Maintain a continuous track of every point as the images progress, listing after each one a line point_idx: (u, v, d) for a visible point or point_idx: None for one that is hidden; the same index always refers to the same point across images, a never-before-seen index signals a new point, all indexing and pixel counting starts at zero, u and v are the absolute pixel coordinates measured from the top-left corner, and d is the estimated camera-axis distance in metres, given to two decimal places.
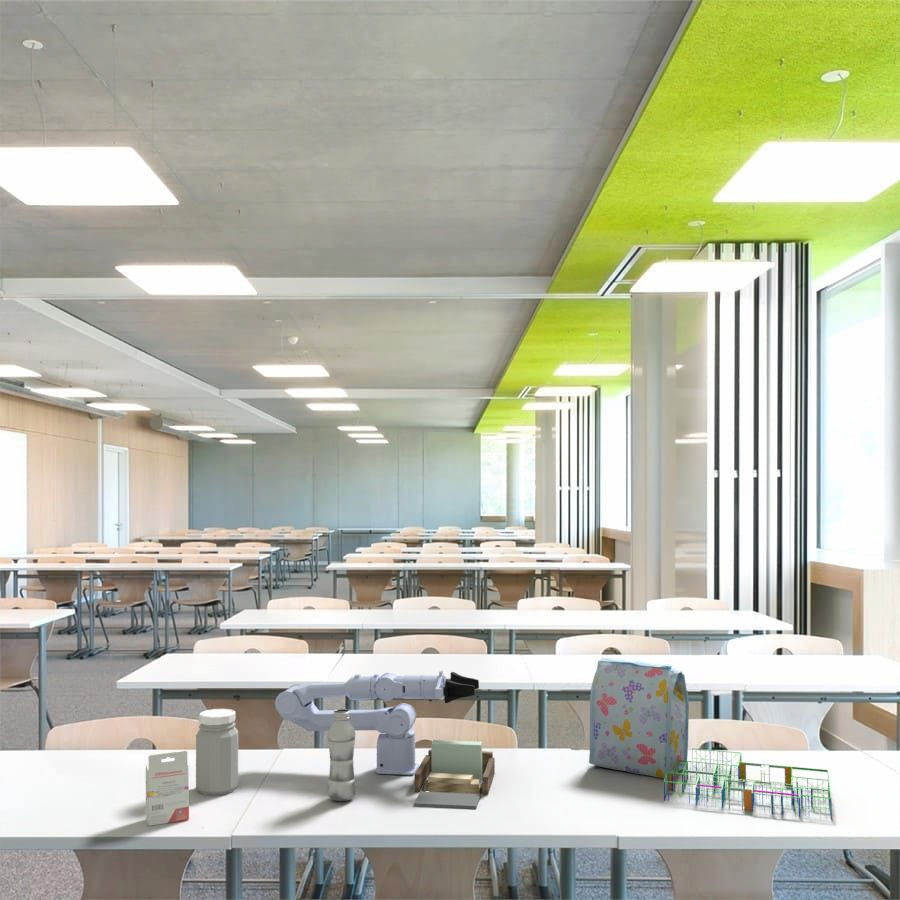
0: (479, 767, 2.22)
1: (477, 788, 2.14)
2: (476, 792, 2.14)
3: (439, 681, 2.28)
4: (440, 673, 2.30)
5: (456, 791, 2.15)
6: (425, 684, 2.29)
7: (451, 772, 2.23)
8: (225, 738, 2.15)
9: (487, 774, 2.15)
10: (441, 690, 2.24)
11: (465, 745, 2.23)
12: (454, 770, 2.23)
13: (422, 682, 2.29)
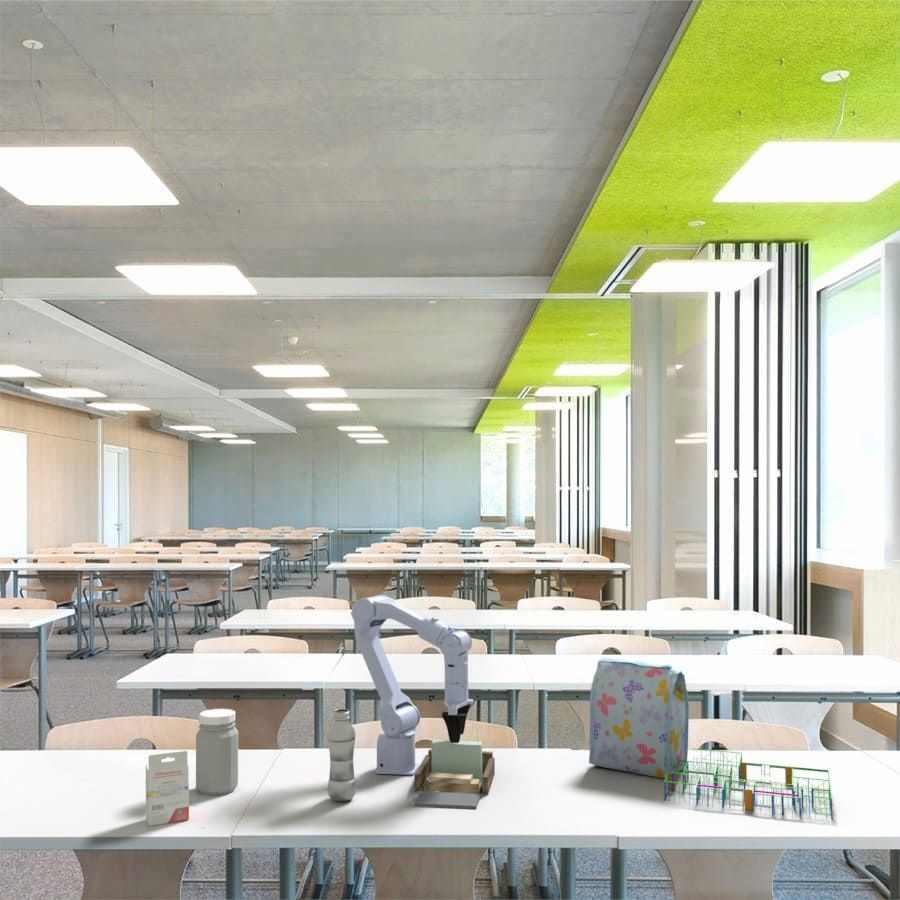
0: (479, 767, 2.22)
1: (477, 788, 2.15)
2: (476, 792, 2.14)
3: (463, 705, 2.21)
4: (470, 702, 2.23)
5: (456, 791, 2.15)
6: (459, 688, 2.22)
7: (451, 772, 2.23)
8: (225, 738, 2.15)
9: (487, 774, 2.15)
10: (455, 713, 2.18)
11: (465, 745, 2.23)
12: (454, 770, 2.23)
13: (461, 685, 2.22)
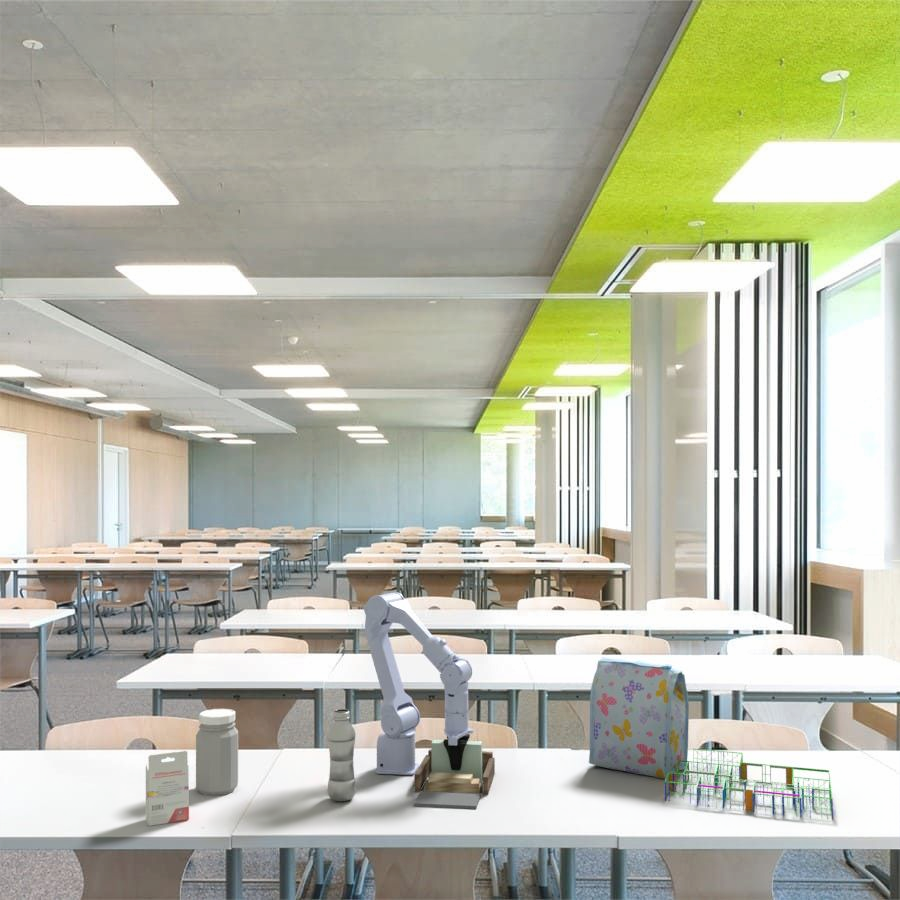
0: (479, 767, 2.22)
1: (477, 787, 2.15)
2: (476, 791, 2.14)
3: (463, 734, 2.21)
4: (470, 732, 2.23)
5: (456, 790, 2.15)
6: (459, 718, 2.22)
7: (451, 772, 2.23)
8: (225, 738, 2.15)
9: (487, 774, 2.15)
10: (455, 744, 2.17)
11: None
12: None
13: (461, 715, 2.22)
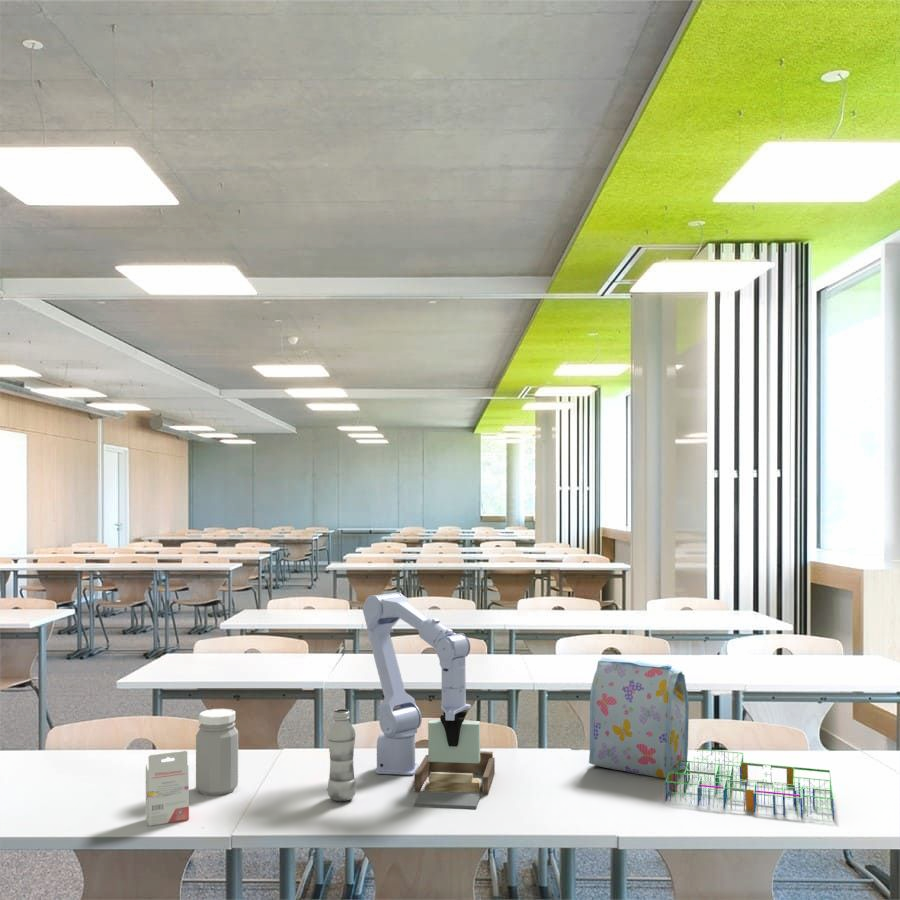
0: (477, 747, 2.17)
1: (478, 787, 2.15)
2: (477, 791, 2.15)
3: (460, 710, 2.16)
4: (468, 707, 2.18)
5: (457, 790, 2.15)
6: (457, 693, 2.17)
7: (448, 752, 2.18)
8: (225, 738, 2.15)
9: (487, 774, 2.15)
10: (452, 719, 2.12)
11: (463, 725, 2.18)
12: (451, 750, 2.18)
13: (459, 690, 2.17)
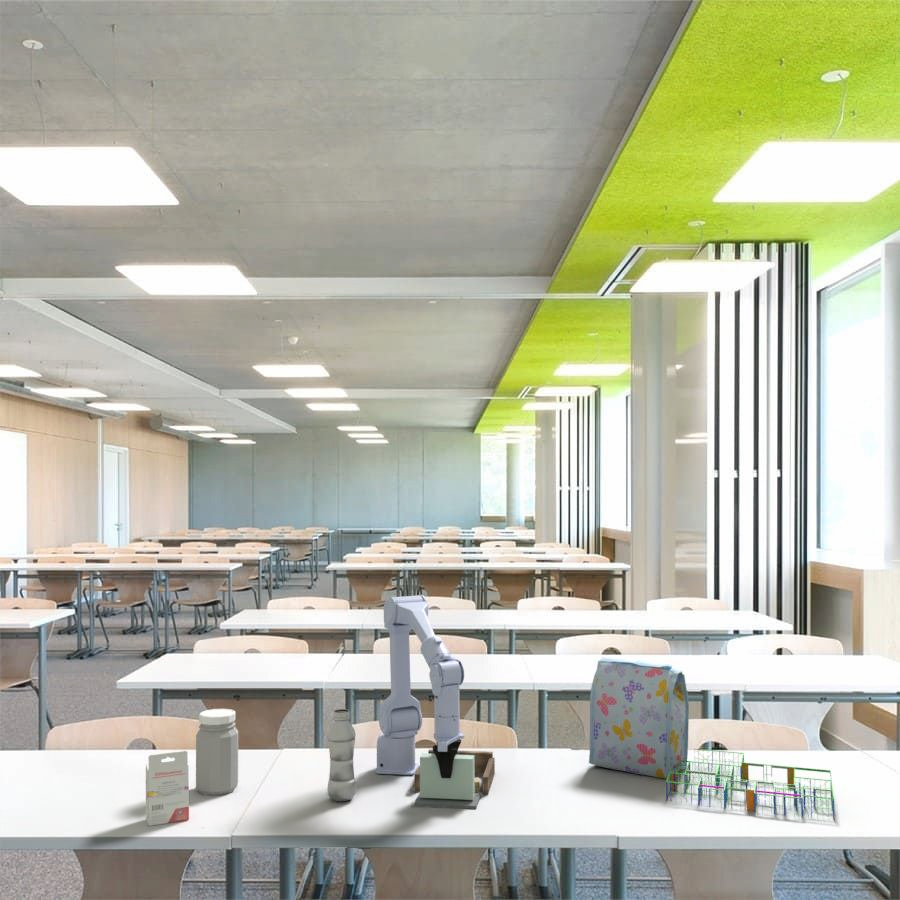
0: (471, 783, 2.07)
1: (478, 786, 2.16)
2: (477, 790, 2.15)
3: (454, 740, 2.06)
4: (462, 737, 2.08)
5: None
6: (450, 722, 2.07)
7: (441, 788, 2.08)
8: (225, 738, 2.15)
9: (487, 774, 2.15)
10: (445, 750, 2.02)
11: (456, 759, 2.07)
12: (444, 785, 2.08)
13: (452, 719, 2.07)
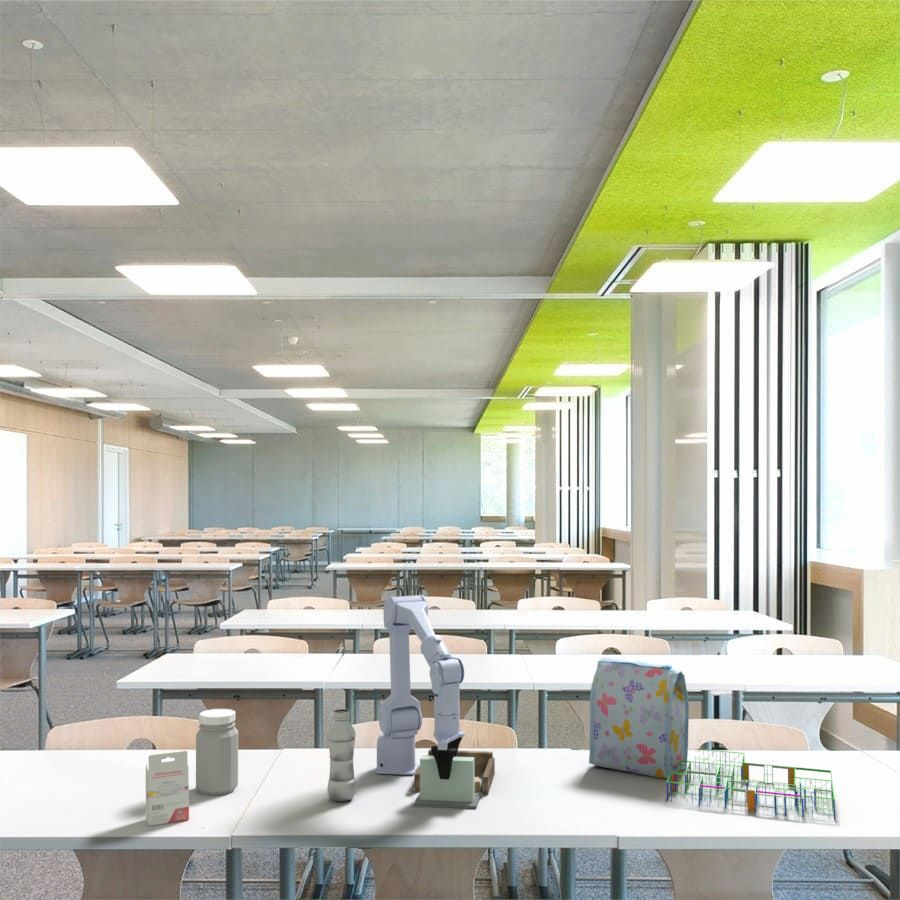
0: (471, 785, 2.07)
1: (478, 786, 2.16)
2: (477, 790, 2.16)
3: (453, 738, 2.06)
4: (462, 735, 2.08)
5: None
6: (450, 721, 2.07)
7: (441, 790, 2.08)
8: (225, 738, 2.14)
9: (487, 774, 2.15)
10: (445, 748, 2.02)
11: (456, 761, 2.07)
12: (444, 787, 2.08)
13: (452, 717, 2.07)
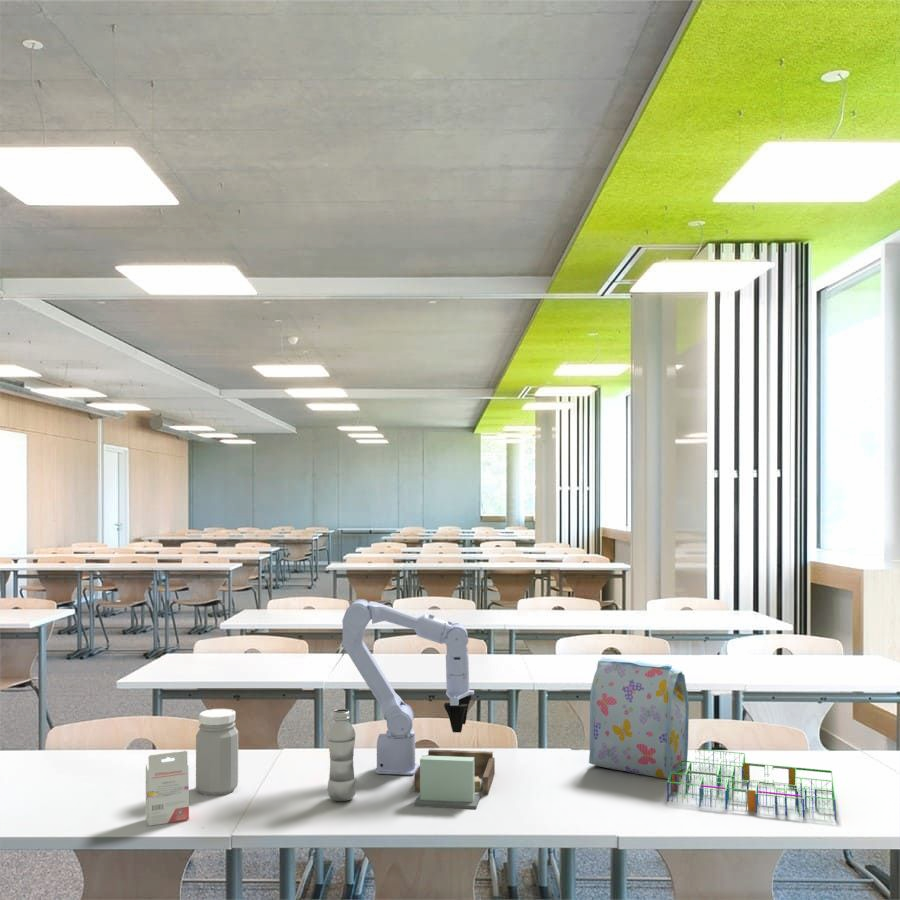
0: (471, 785, 2.07)
1: (478, 785, 2.16)
2: (478, 789, 2.16)
3: (464, 695, 2.29)
4: (471, 693, 2.31)
5: None
6: (460, 680, 2.30)
7: (441, 790, 2.08)
8: (225, 738, 2.14)
9: (487, 774, 2.15)
10: (456, 704, 2.25)
11: (456, 761, 2.07)
12: (444, 787, 2.08)
13: (462, 676, 2.30)
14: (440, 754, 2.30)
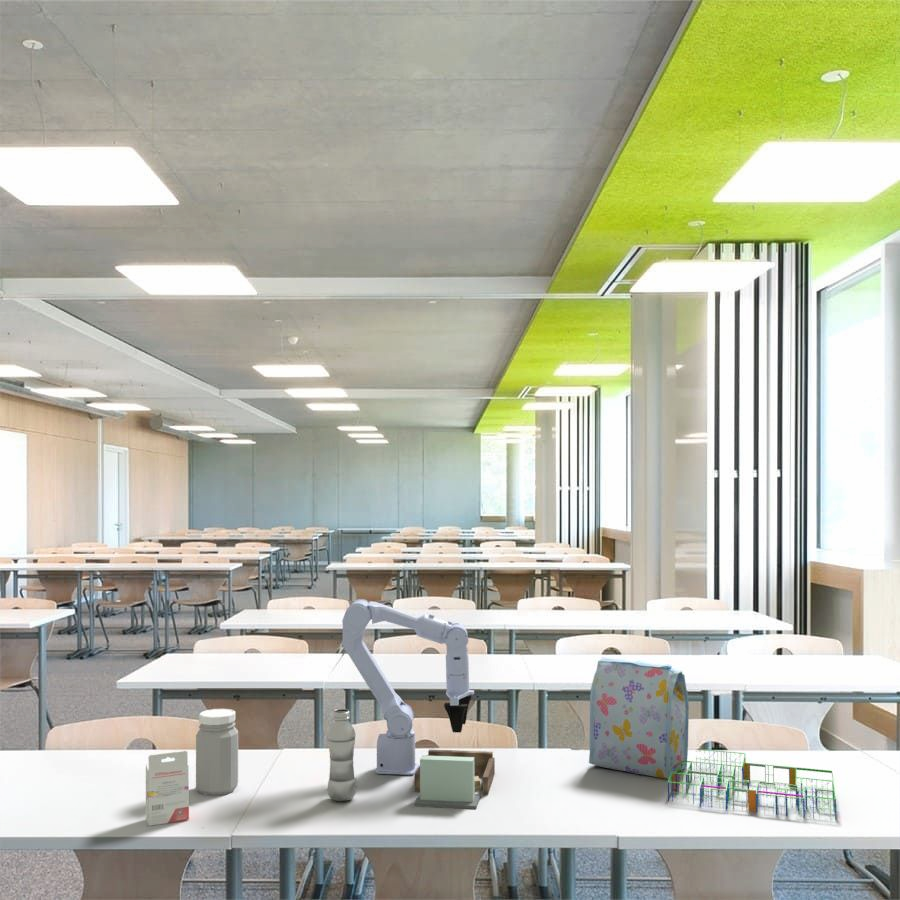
0: (471, 785, 2.07)
1: (478, 785, 2.17)
2: (478, 789, 2.16)
3: (464, 695, 2.29)
4: (471, 693, 2.31)
5: None
6: (460, 680, 2.30)
7: (441, 790, 2.08)
8: (225, 738, 2.15)
9: (487, 774, 2.15)
10: (456, 704, 2.25)
11: (456, 761, 2.07)
12: (444, 787, 2.08)
13: (462, 676, 2.30)
14: (440, 754, 2.30)
